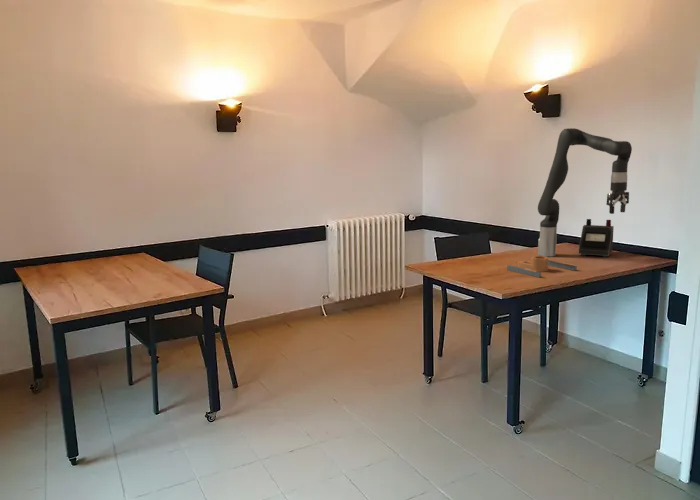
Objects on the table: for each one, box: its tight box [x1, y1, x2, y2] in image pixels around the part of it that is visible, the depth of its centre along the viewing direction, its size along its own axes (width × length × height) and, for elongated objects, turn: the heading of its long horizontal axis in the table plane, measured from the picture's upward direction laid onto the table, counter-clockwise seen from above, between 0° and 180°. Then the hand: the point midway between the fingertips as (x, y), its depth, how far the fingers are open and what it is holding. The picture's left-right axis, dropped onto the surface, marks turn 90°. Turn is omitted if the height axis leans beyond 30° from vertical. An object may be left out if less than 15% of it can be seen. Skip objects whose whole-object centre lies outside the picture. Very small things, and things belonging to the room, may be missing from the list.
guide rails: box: [506, 259, 578, 278], centre depth 289 cm, size 22×27×3 cm
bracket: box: [517, 255, 549, 273], centre depth 294 cm, size 18×8×7 cm, turn 25°
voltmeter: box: [578, 218, 614, 259], centre depth 323 cm, size 16×16×20 cm
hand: (617, 212), depth 284 cm, fingers open, 8 cm apart
